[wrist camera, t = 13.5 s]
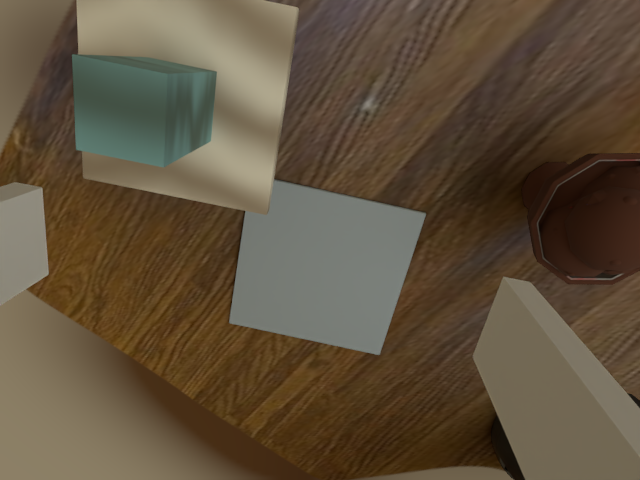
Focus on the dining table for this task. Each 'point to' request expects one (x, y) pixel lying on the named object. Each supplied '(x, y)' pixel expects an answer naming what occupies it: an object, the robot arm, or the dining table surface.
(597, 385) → the robot arm
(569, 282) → the ice cream bowl
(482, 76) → the dining table surface
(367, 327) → the mat
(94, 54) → the lid
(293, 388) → the dining table surface
